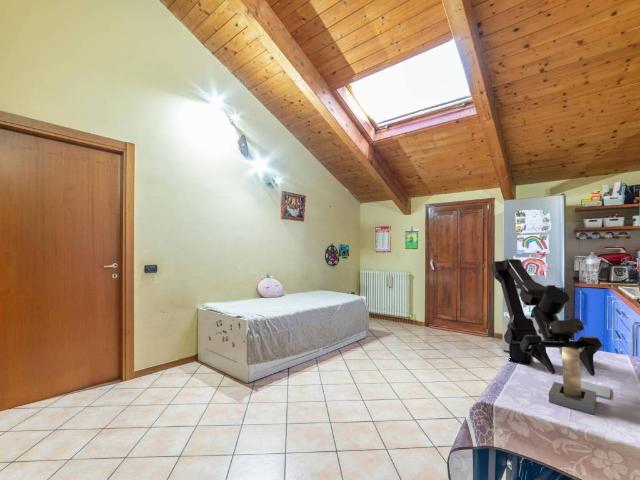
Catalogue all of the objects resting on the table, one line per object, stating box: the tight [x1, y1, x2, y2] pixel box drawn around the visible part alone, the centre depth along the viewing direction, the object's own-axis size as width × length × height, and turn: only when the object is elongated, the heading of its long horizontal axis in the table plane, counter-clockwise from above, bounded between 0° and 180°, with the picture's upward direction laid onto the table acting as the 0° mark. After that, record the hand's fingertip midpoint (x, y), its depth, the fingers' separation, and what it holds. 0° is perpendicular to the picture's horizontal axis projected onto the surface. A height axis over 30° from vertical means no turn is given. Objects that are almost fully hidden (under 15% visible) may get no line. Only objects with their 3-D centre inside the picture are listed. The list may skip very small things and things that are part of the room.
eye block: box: [548, 381, 597, 415], centre depth 81 cm, size 9×9×2 cm
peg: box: [561, 347, 581, 398], centre depth 81 cm, size 4×4×14 cm
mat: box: [580, 380, 612, 400], centre depth 87 cm, size 8×8×1 cm
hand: (573, 374), depth 80 cm, fingers open, 9 cm apart
